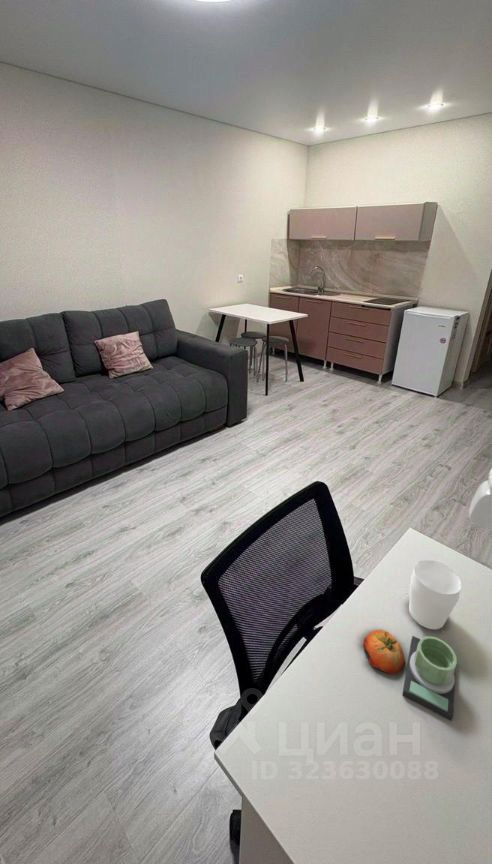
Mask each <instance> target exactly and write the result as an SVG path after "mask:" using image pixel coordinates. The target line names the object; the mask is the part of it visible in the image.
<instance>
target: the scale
mask: <svg viewBox="0 0 492 864" xmlns="http://www.w3.org/2000/svg"><path fill="white" fill-rule="evenodd" d="M420 639H421V638H418V637H416V636H414V635H412V636H411V639H410V646H409V651H408V656H407V657H408V658H407V663H406V670H405V676H404V682H403V688H402V694H401V695H402V696H403V697H404V698H406V699H409V700H410V701H412V702H414V703H416V704H418V705H420V706H422V707H423V708H425V709H428V710H429V711H431V712H433V713H435V714H436V715H438V716H441V717H443V718H444V719H446V720H447V721H450V722H452V720H453V718H454V709H455V707H454V706H455V687H456V668H455V670H454V673H453V676H452V679H451V681H450V682H449V683H447V684H445V685H437V684H433V683H431V682H429V681H427V680H426V679H425V678H424V677H423V676H422V675H421V674H420V673H419V672H418V670H417V668H416V666H415V661H414V657H415V653H416V649H417V646H418V643H419V641H420Z"/></svg>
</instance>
